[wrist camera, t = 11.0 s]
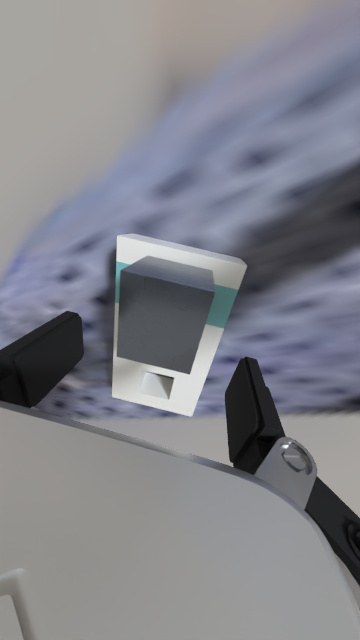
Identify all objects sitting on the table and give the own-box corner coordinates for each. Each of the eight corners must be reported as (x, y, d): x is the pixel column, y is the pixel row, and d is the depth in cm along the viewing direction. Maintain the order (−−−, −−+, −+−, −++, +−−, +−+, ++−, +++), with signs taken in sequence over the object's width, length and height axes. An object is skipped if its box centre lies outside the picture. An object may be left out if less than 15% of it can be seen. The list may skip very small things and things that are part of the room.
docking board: (132, 233, 20) (117, 235, 17) (240, 258, 20) (247, 265, 17) (122, 376, 31) (111, 396, 27) (193, 394, 30) (191, 416, 27)
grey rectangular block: (211, 261, 21) (215, 292, 11) (196, 316, 24) (189, 374, 15) (158, 249, 21) (120, 270, 11) (151, 305, 24) (116, 356, 15)
